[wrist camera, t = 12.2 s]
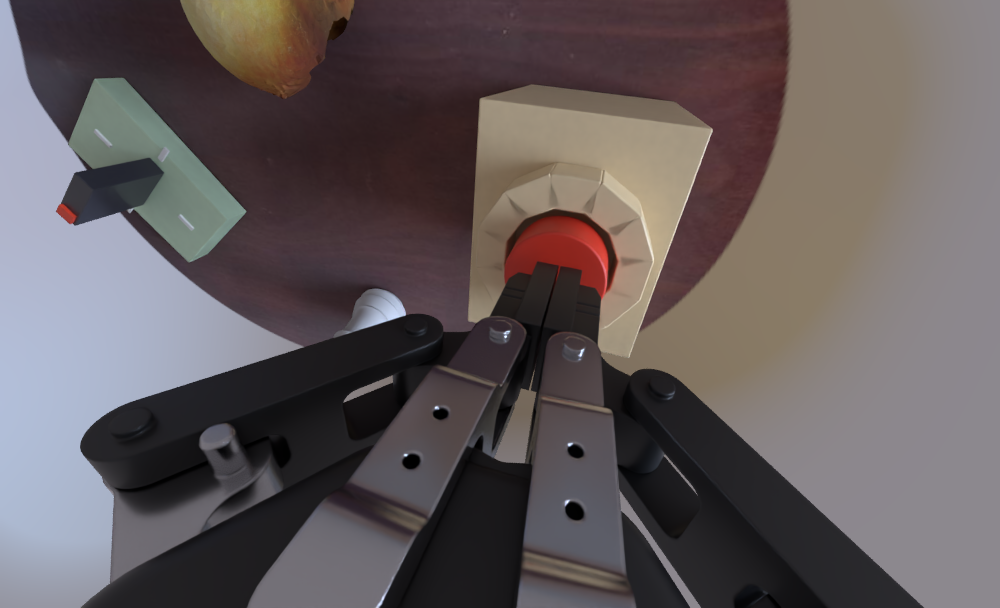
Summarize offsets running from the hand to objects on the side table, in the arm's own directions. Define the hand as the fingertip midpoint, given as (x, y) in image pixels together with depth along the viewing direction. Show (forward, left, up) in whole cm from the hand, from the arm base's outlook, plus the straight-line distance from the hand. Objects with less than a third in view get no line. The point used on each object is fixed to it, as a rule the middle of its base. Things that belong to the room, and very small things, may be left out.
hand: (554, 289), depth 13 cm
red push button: (0, 0, -2) cm, 2 cm away
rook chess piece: (-14, +15, -14) cm, 25 cm away
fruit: (+7, +17, -14) cm, 23 cm away
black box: (-5, +34, -12) cm, 36 cm away
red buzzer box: (0, 0, -14) cm, 14 cm away
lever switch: (-5, +34, -14) cm, 37 cm away
